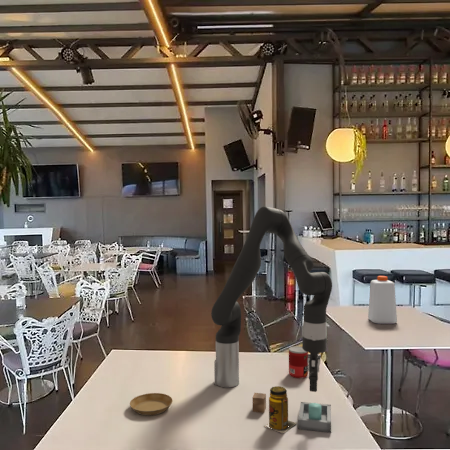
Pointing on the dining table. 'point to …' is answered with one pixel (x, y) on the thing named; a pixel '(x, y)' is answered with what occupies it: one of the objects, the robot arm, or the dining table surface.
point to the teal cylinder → (315, 411)
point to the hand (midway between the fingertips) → (313, 385)
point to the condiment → (279, 410)
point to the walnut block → (259, 402)
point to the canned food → (298, 362)
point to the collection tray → (313, 424)
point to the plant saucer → (151, 403)
